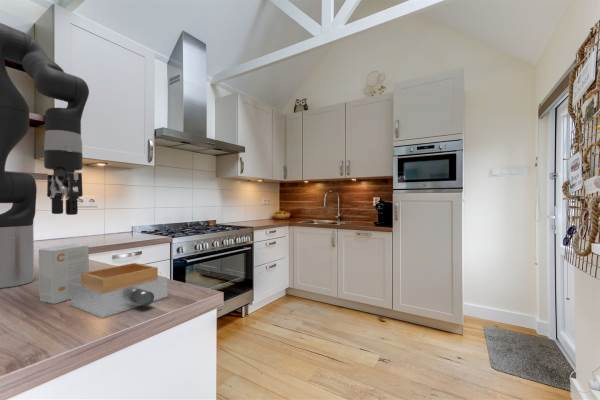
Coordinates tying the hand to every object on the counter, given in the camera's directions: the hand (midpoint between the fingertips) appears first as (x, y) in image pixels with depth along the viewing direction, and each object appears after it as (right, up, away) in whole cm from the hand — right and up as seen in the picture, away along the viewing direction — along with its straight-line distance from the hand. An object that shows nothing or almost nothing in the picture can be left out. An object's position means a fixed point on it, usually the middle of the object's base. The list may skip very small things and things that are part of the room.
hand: (64, 214), depth 72 cm
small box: (0, -22, 0) cm, 22 cm away
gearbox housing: (+18, -21, -4) cm, 28 cm away
